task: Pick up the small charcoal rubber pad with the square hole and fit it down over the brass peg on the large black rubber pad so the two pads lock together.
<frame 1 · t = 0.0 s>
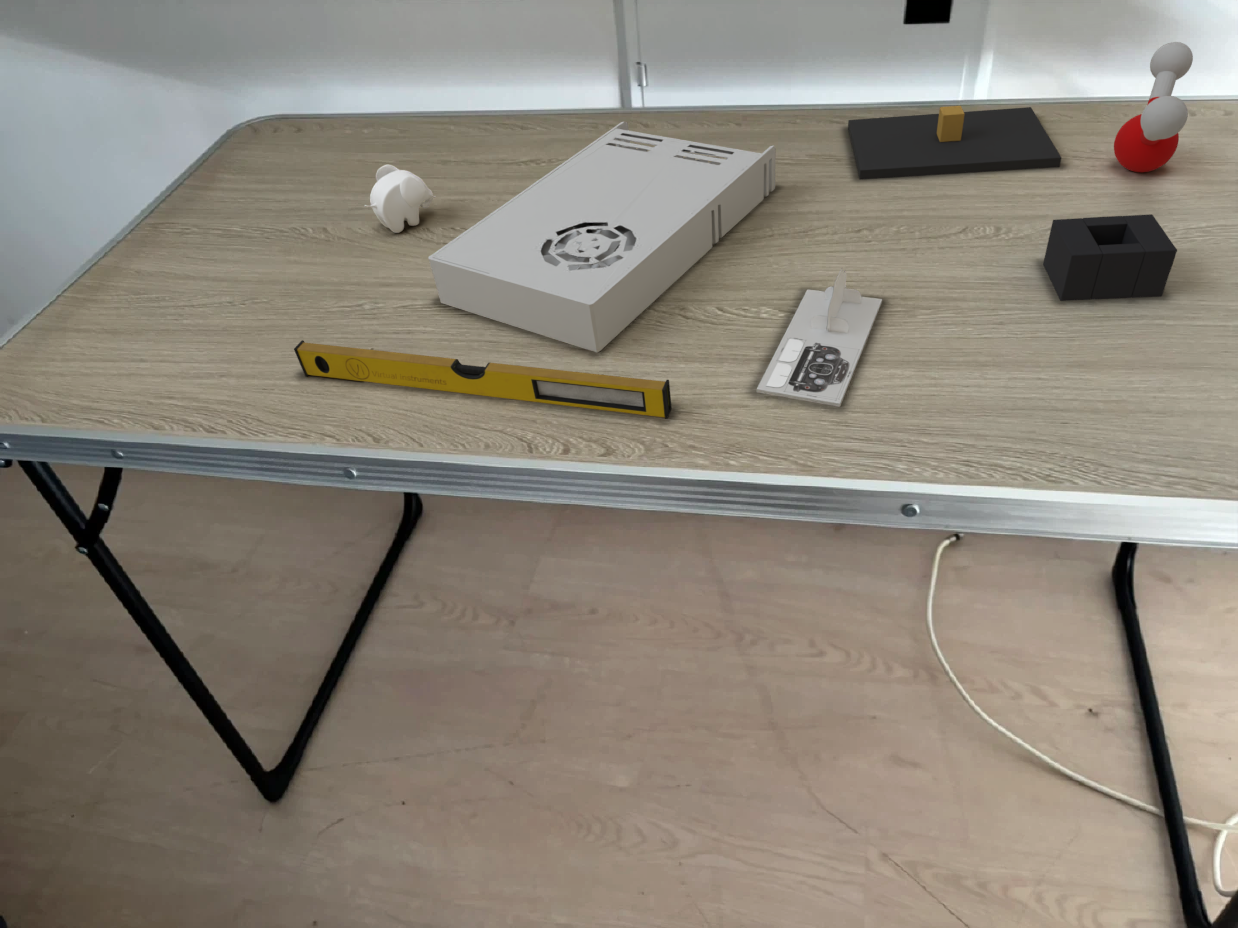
top pad: (1099, 281, 79), on the table
power supply unit: (616, 245, 93), on the table
spirit level: (478, 393, 78), on the table
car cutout: (822, 348, 77), on the table
molecular model: (1137, 171, 93), on the table
base pad: (947, 148, 101), on the table
elephant figurine: (406, 225, 102), on the table
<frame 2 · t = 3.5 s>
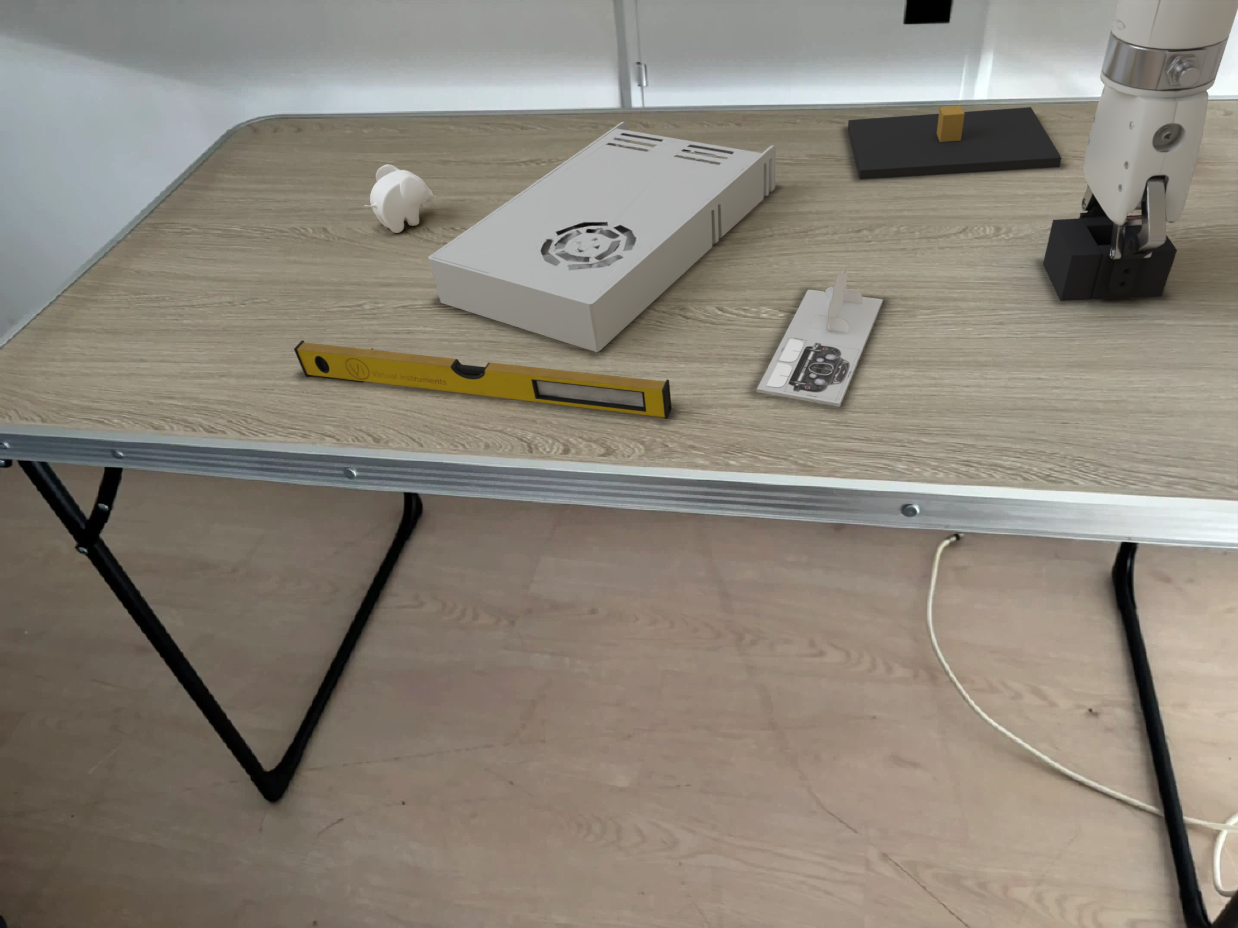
hand: (1102, 273, 79), 1 cm above the table, tool pointing down, fingers closed on top pad, 6 cm apart
top pad: (1099, 281, 79), on the table, touching gripper
everything else where it was.
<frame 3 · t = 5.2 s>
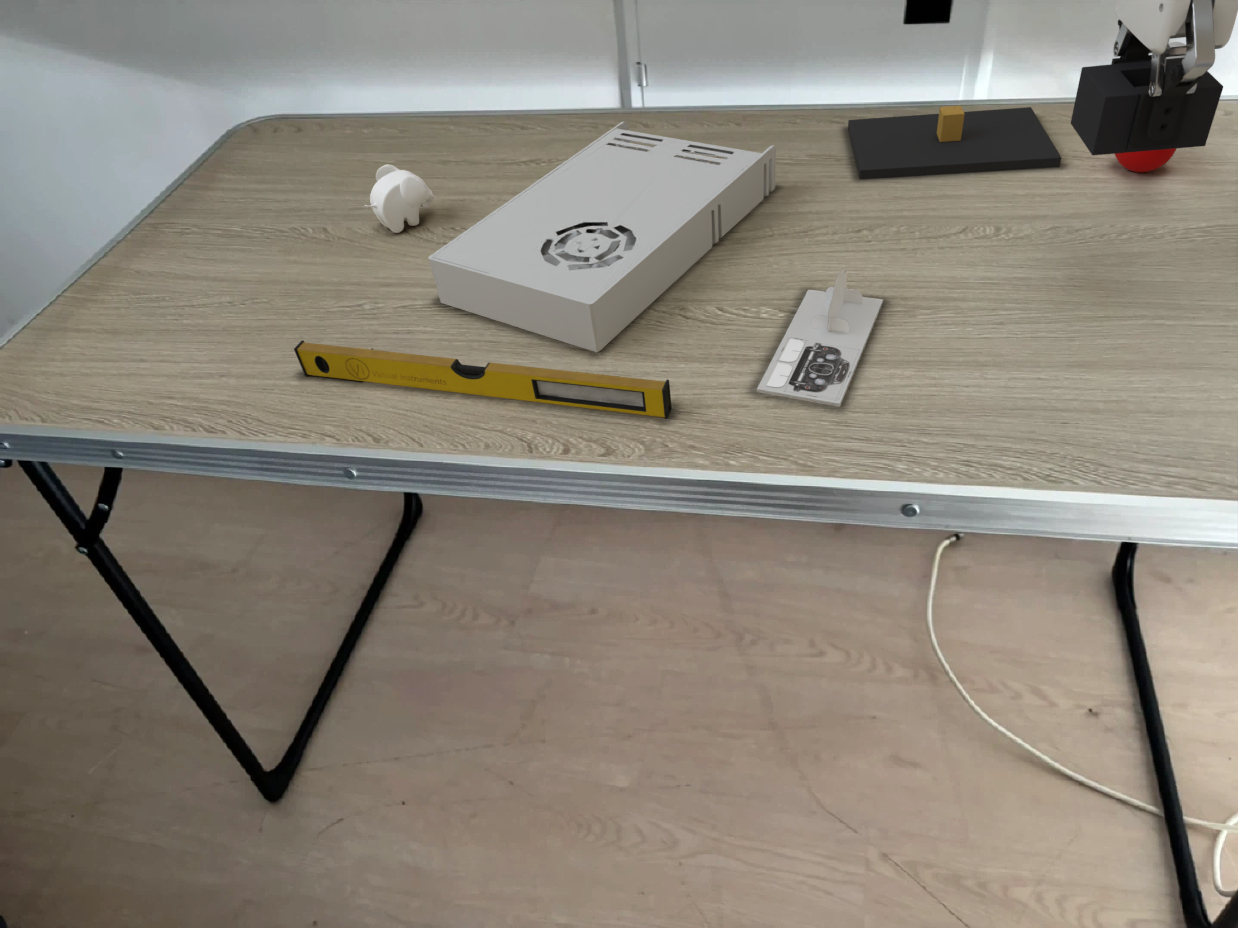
hand: (1137, 124, 71), 13 cm above the table, tool pointing down, fingers closed on top pad, 6 cm apart
top pad: (1135, 134, 72), point 12 cm above the table, touching gripper
everything else where it was.
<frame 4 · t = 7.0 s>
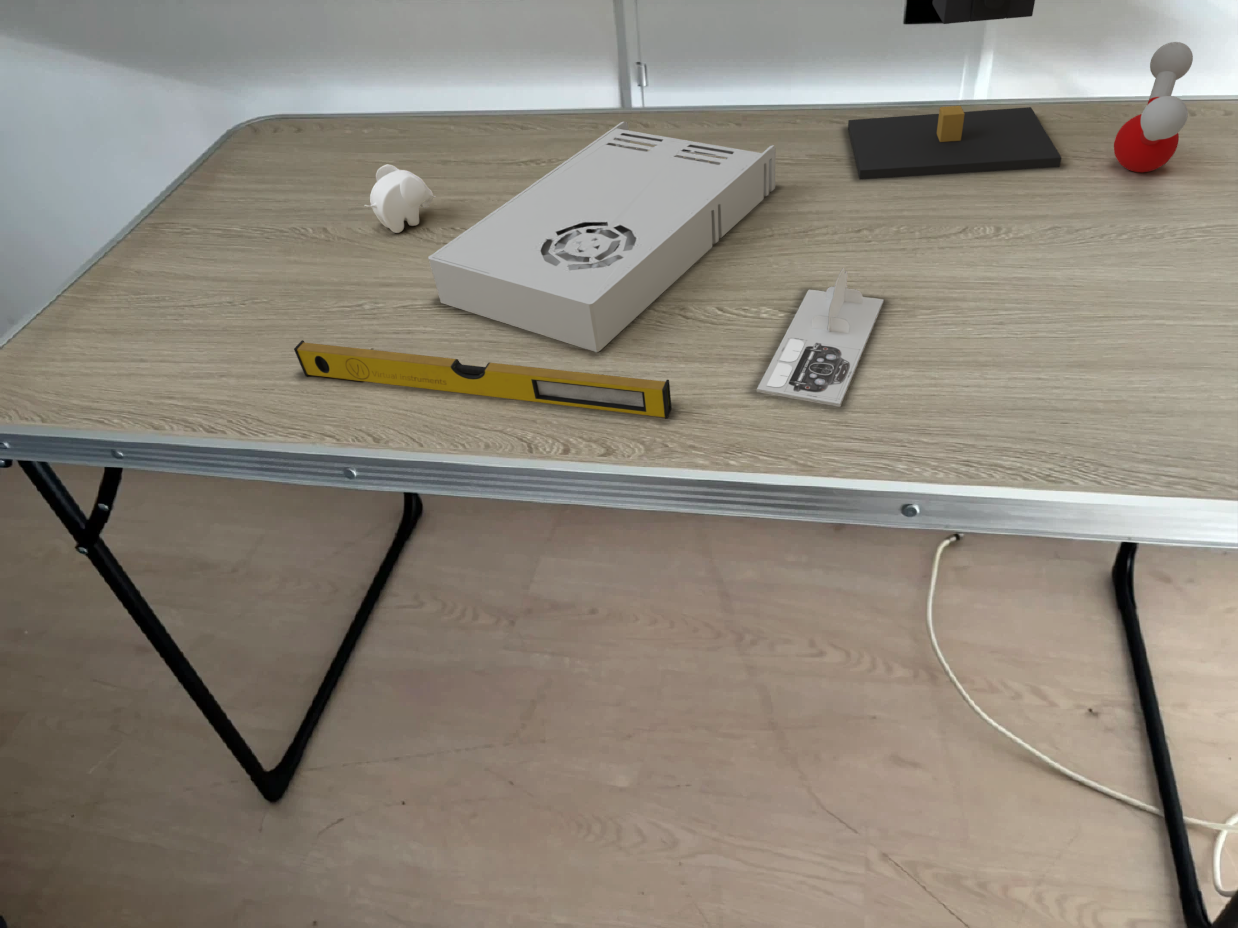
hand: (982, 1, 88), 16 cm above the table, tool pointing down, fingers closed on top pad, 6 cm apart
top pad: (980, 10, 89), point 15 cm above the table, touching gripper
everything else where it was.
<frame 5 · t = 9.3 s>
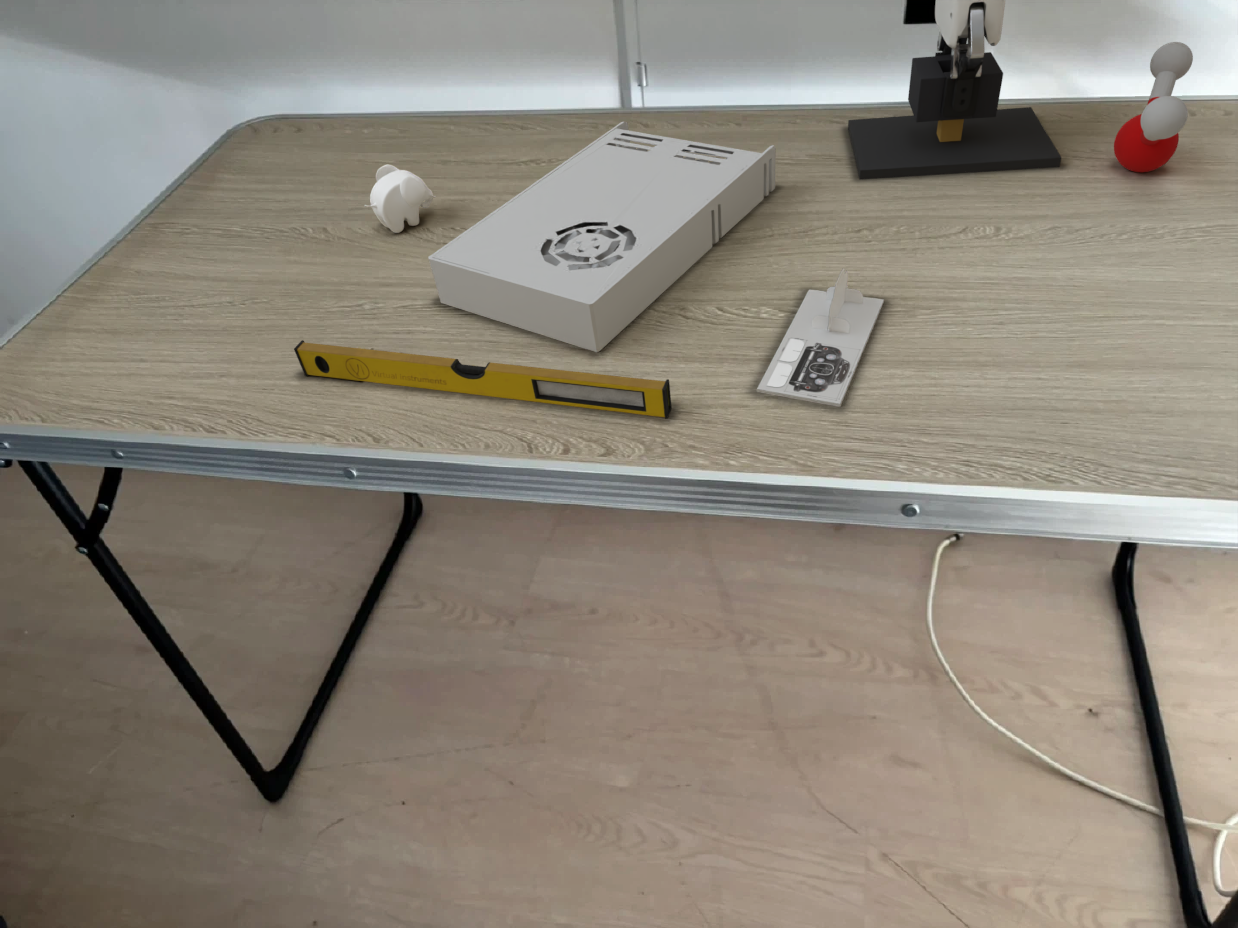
hand: (952, 100, 98), 5 cm above the table, tool pointing down, fingers closed on top pad, 6 cm apart
top pad: (950, 108, 98), point 4 cm above the table, touching gripper
everything else where it was.
when the fingers open (2 cm above the table, at t = 10.7 s): top pad stays where it is, resting on base pad.
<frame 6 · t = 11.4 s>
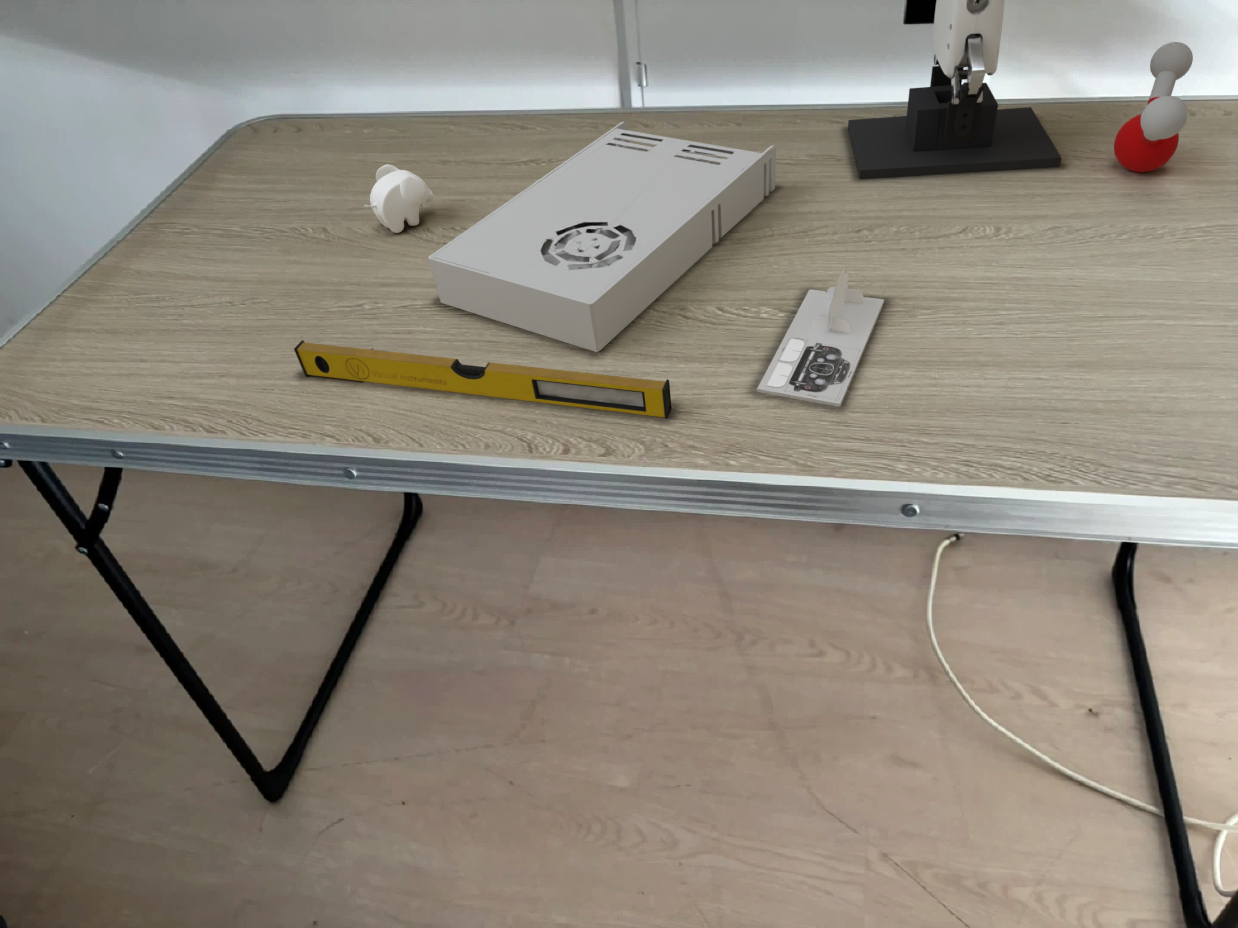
hand: (951, 120, 99), 3 cm above the table, tool pointing down, fingers open, 9 cm apart
top pad: (947, 137, 100), point 1 cm above the table, touching base pad
everything else where it was.
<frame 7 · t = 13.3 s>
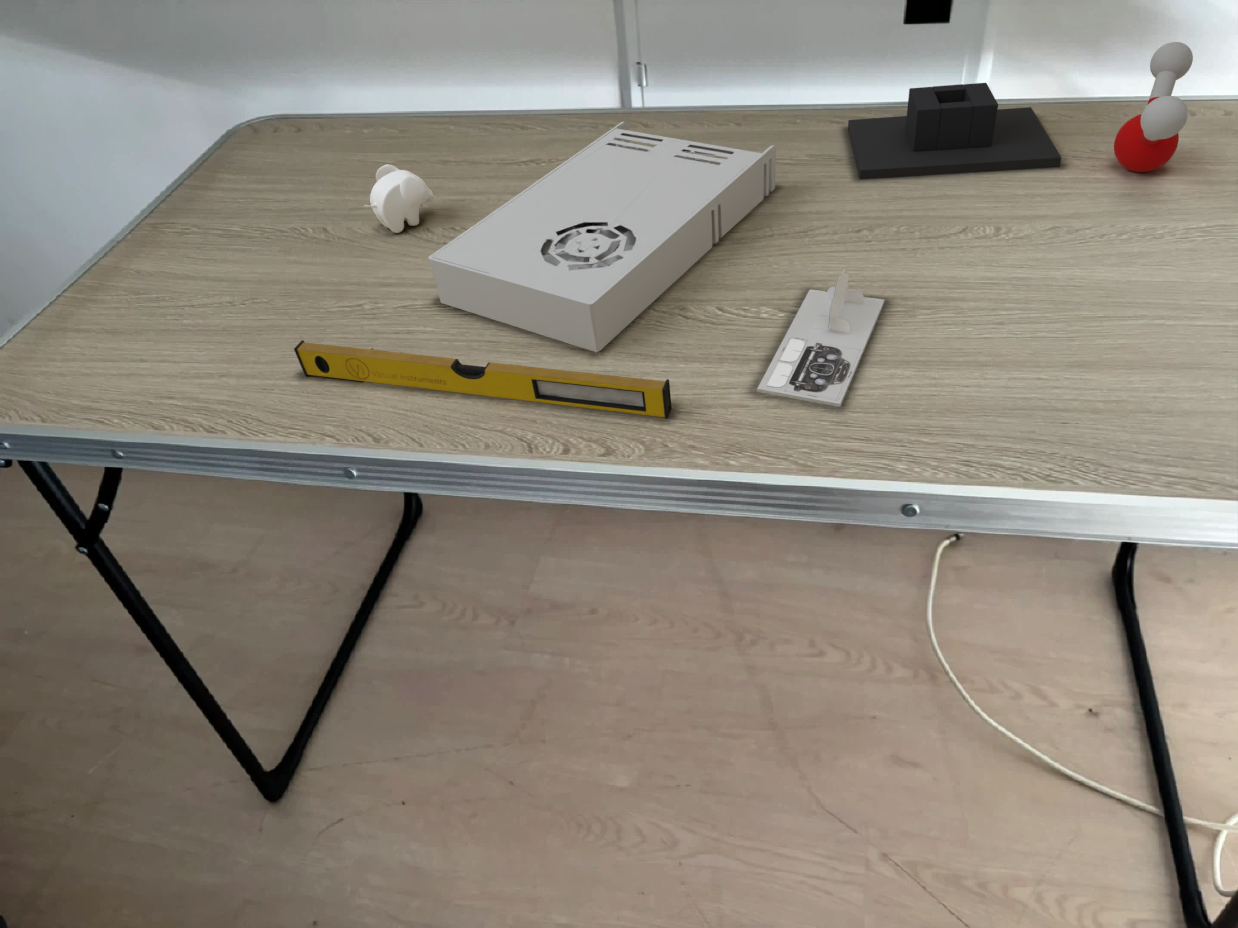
nothing on the table moved.
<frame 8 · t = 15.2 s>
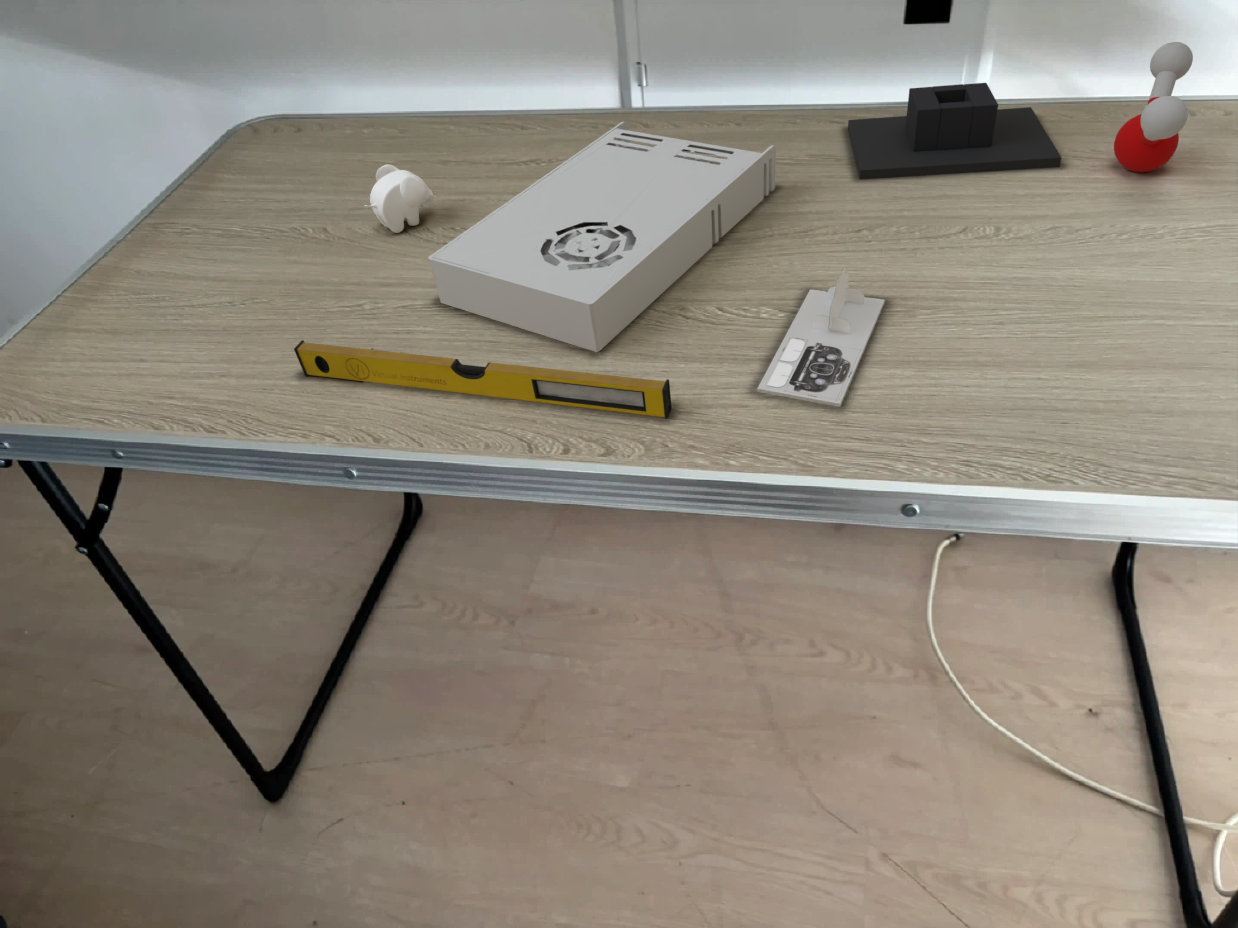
nothing on the table moved.
at the end: top pad 0.1 cm off-centre on the base pad, point 1.2 cm above the base pad's base; top pad tilted 0°; the gripper is holding nothing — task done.
